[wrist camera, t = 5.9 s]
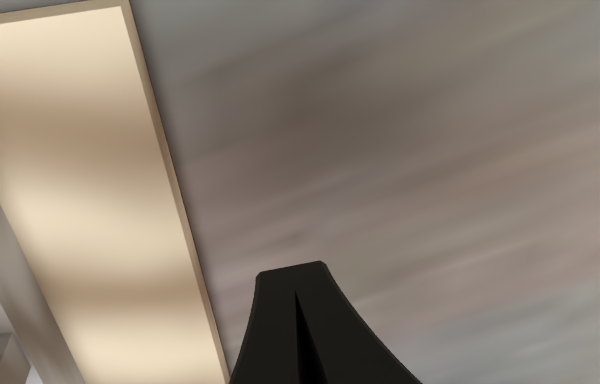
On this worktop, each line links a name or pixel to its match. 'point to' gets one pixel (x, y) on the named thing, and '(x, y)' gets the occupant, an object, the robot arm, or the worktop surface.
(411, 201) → the worktop surface
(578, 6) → the worktop surface
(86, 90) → the switch panel
